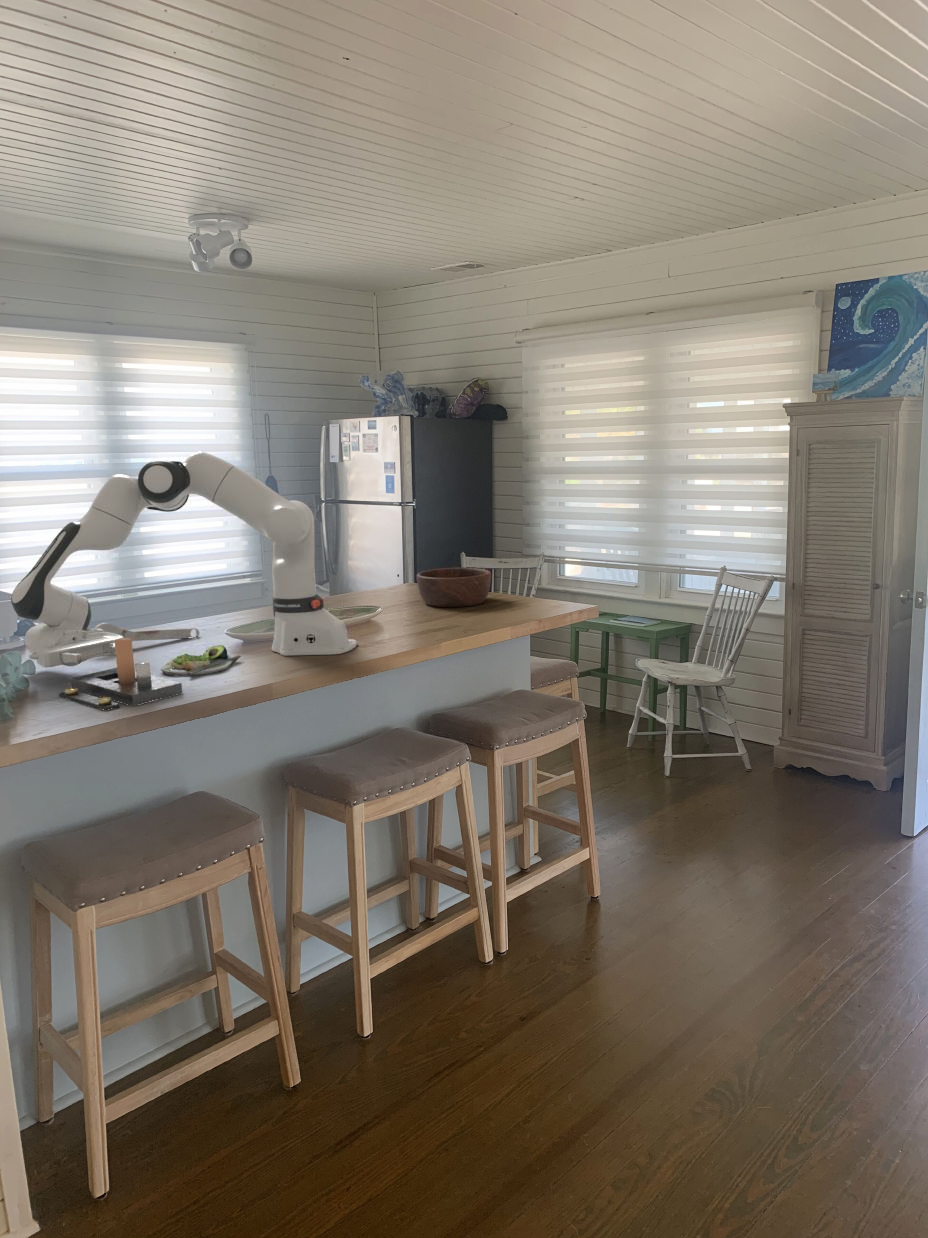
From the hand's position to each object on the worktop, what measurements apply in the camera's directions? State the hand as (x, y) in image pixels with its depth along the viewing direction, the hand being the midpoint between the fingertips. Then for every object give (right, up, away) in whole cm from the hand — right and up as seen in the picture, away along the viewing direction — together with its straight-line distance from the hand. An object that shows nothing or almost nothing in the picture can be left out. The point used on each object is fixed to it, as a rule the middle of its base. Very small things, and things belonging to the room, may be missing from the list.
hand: (98, 654), depth 208 cm
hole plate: (+7, -9, -7) cm, 13 cm away
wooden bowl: (+82, +13, +94) cm, 125 cm away
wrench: (-3, 0, +42) cm, 43 cm away
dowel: (+9, -8, -6) cm, 14 cm away
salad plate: (+19, -4, +16) cm, 25 cm away
